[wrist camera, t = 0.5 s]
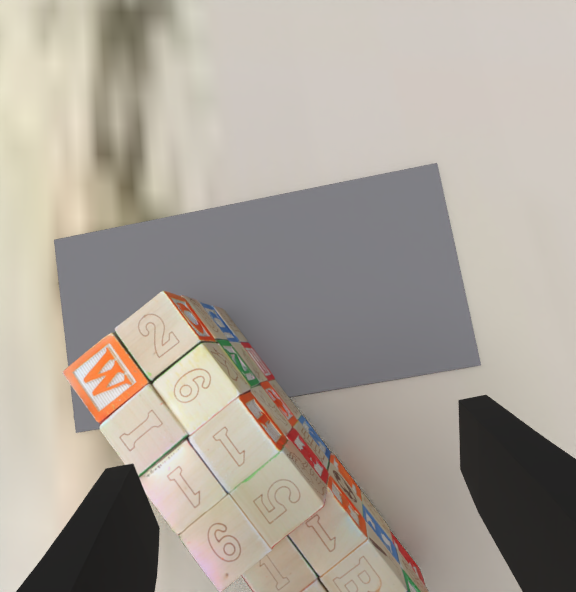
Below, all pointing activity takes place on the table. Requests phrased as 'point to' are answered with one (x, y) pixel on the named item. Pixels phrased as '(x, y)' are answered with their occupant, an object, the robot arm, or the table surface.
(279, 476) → the stack of blocks
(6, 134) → the table surface
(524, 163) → the table surface
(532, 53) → the table surface
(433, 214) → the mat
